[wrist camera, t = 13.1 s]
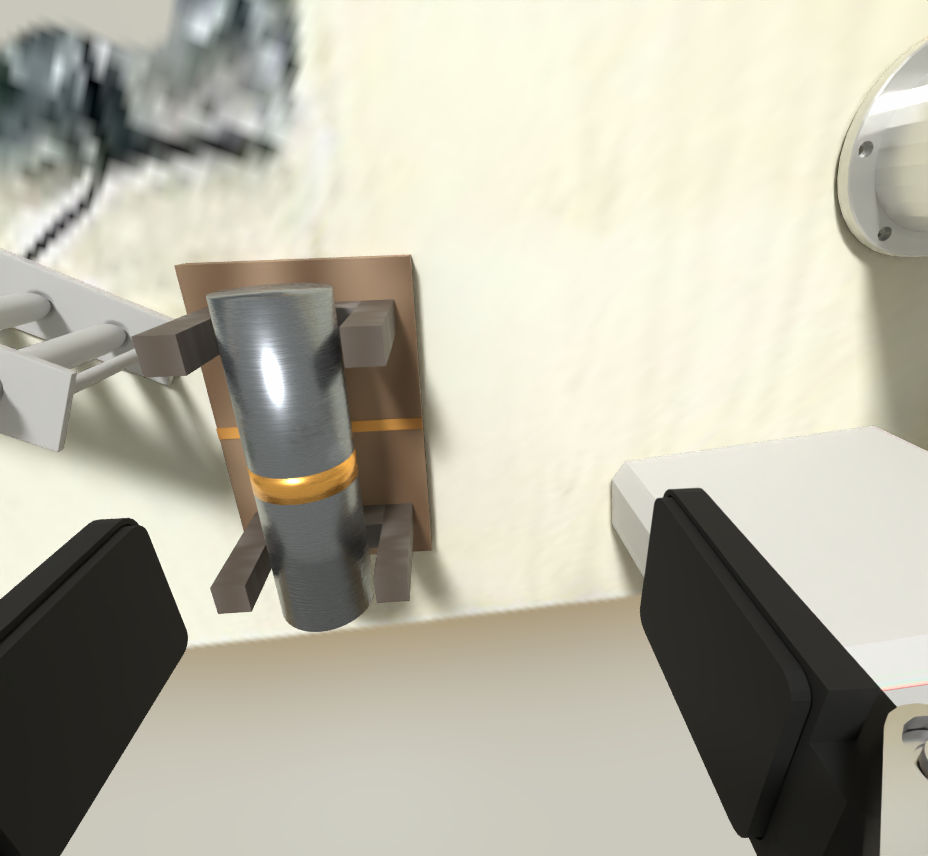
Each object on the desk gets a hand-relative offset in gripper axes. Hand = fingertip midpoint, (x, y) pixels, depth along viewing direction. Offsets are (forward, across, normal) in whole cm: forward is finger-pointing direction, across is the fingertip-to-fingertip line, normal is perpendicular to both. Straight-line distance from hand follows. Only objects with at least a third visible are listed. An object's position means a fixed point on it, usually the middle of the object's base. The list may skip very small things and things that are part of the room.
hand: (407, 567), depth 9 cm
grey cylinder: (+18, +8, +7) cm, 21 cm away
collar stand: (+25, +9, +7) cm, 27 cm away
